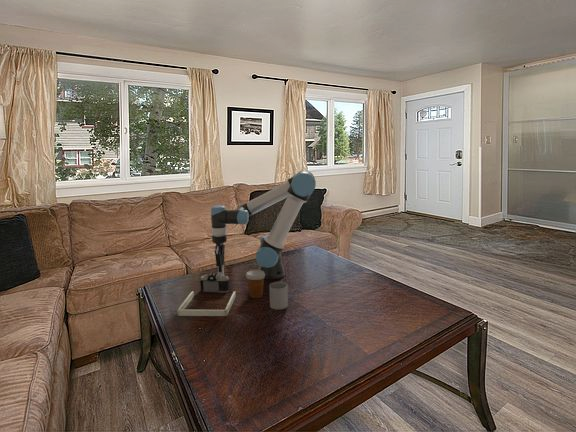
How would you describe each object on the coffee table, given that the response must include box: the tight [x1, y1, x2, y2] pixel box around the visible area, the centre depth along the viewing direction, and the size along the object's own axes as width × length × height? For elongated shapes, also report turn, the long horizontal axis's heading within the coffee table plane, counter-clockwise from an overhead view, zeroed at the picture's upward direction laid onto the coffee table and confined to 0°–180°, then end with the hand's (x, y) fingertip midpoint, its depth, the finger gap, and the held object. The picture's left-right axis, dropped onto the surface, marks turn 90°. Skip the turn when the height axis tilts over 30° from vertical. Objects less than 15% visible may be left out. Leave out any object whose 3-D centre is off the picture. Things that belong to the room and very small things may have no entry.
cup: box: [268, 281, 289, 310], centre depth 162 cm, size 8×8×10 cm
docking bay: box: [176, 290, 237, 317], centre depth 164 cm, size 22×21×2 cm
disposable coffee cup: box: [245, 269, 265, 299], centre depth 173 cm, size 10×10×12 cm
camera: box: [199, 271, 230, 293], centre depth 181 cm, size 16×9×10 cm, turn 83°
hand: (221, 276), depth 190 cm, fingers closed
